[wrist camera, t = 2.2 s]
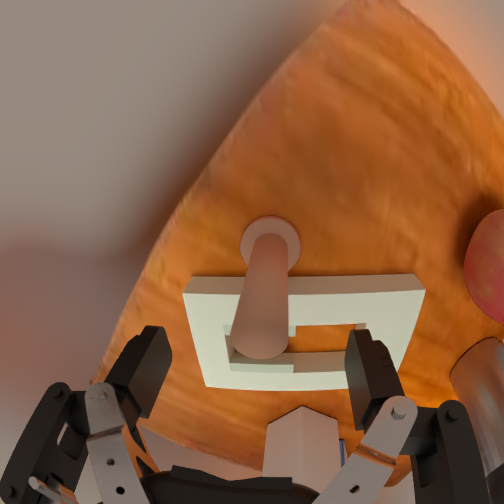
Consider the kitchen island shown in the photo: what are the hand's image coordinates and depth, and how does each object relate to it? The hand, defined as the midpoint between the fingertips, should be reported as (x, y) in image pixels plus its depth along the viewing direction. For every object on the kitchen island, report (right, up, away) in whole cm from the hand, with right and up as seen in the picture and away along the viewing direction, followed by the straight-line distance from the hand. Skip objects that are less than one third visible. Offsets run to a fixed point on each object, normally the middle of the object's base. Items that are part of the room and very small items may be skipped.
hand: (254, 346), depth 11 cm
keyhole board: (+5, -4, +14) cm, 15 cm away
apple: (+22, +5, +8) cm, 24 cm away
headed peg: (+1, +5, +11) cm, 12 cm away
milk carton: (+7, -20, +21) cm, 30 cm away
